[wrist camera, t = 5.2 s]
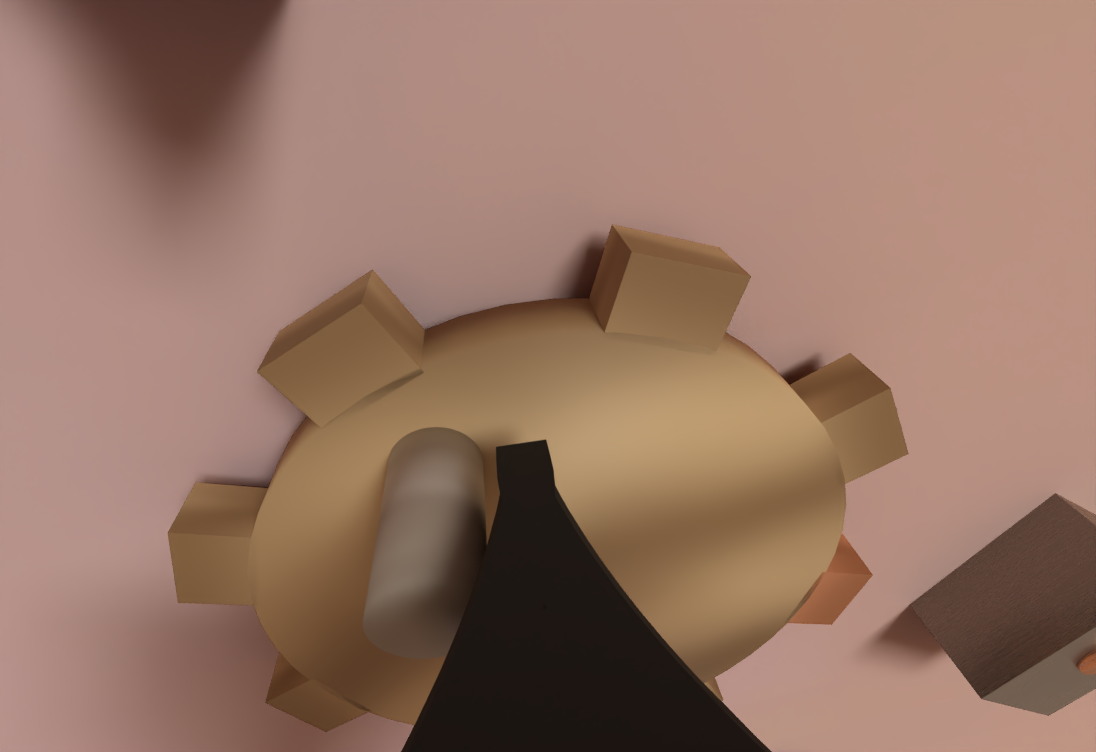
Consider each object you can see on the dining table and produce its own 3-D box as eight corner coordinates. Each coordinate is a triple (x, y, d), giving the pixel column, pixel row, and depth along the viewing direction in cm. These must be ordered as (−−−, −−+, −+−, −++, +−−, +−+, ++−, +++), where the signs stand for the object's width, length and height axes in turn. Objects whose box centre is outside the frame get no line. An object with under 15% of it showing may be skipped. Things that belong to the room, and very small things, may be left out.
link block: (969, 621, 22) (1052, 720, 19) (906, 600, 20) (985, 703, 17) (1111, 521, 19) (1233, 616, 16) (1050, 489, 18) (1172, 587, 15)
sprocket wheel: (917, 565, 17) (1052, 729, 13) (475, 759, 21) (478, 938, 17) (745, 21, 9) (991, 30, 5) (16, 506, 12) (-211, 758, 8)
